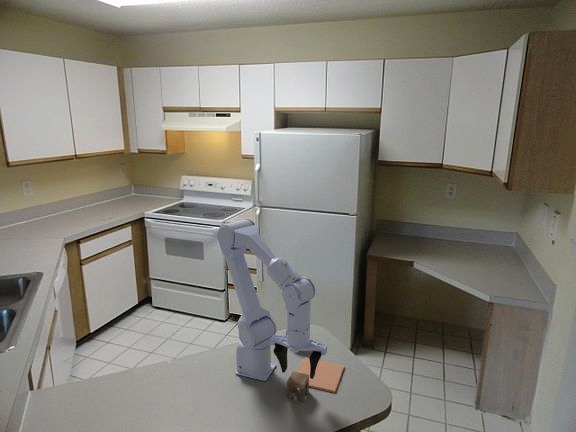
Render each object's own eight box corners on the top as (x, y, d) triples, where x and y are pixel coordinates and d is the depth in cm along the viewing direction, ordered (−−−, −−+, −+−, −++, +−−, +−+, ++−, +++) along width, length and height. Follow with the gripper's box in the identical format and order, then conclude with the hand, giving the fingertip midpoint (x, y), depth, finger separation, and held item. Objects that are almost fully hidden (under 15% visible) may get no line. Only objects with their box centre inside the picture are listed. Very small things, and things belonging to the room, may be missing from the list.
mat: (292, 383, 110) (292, 381, 109) (305, 359, 121) (305, 357, 120) (334, 392, 106) (335, 390, 106) (344, 367, 117) (344, 365, 117)
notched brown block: (287, 398, 104) (287, 381, 102) (292, 387, 108) (292, 371, 107) (303, 402, 102) (303, 385, 101) (308, 391, 106) (308, 374, 105)
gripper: (265, 328, 99) (266, 376, 102) (322, 338, 94) (321, 389, 97) (276, 315, 105) (276, 361, 109) (329, 324, 101) (328, 372, 104)
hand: (298, 373), depth 103 cm, fingers open, 7 cm apart
